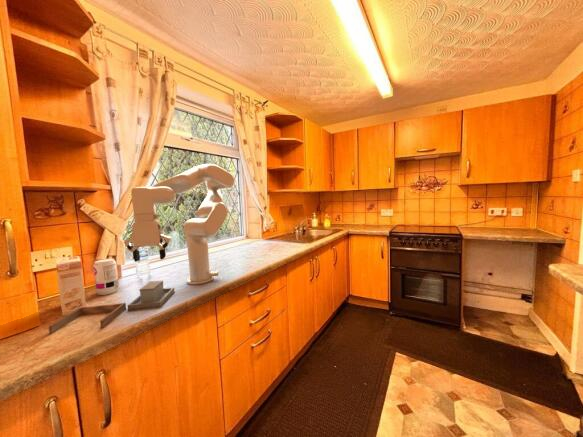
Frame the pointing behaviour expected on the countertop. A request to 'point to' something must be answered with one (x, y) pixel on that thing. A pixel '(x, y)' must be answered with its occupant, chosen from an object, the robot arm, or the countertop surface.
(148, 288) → the grey rectangular box
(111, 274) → the supplement can
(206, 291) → the countertop surface
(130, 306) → the tray
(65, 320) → the frame
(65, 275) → the coffeecake box
